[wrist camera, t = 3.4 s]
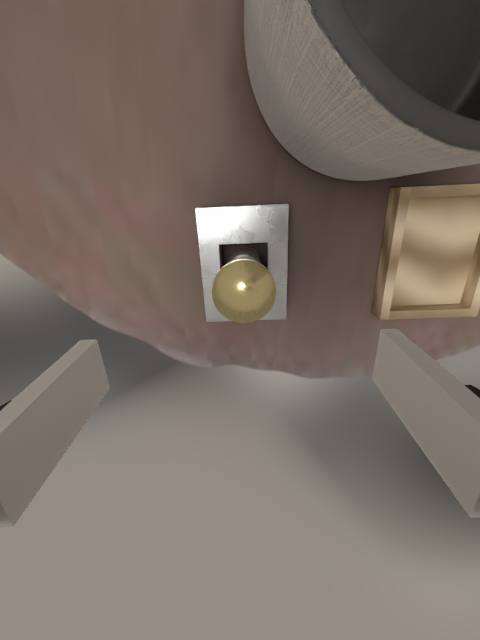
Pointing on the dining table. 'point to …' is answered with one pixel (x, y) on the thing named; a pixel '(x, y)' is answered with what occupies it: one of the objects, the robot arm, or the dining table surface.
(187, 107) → the dining table surface
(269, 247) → the block
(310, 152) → the planter
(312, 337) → the dining table surface
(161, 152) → the dining table surface
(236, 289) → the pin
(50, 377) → the robot arm
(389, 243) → the tray
